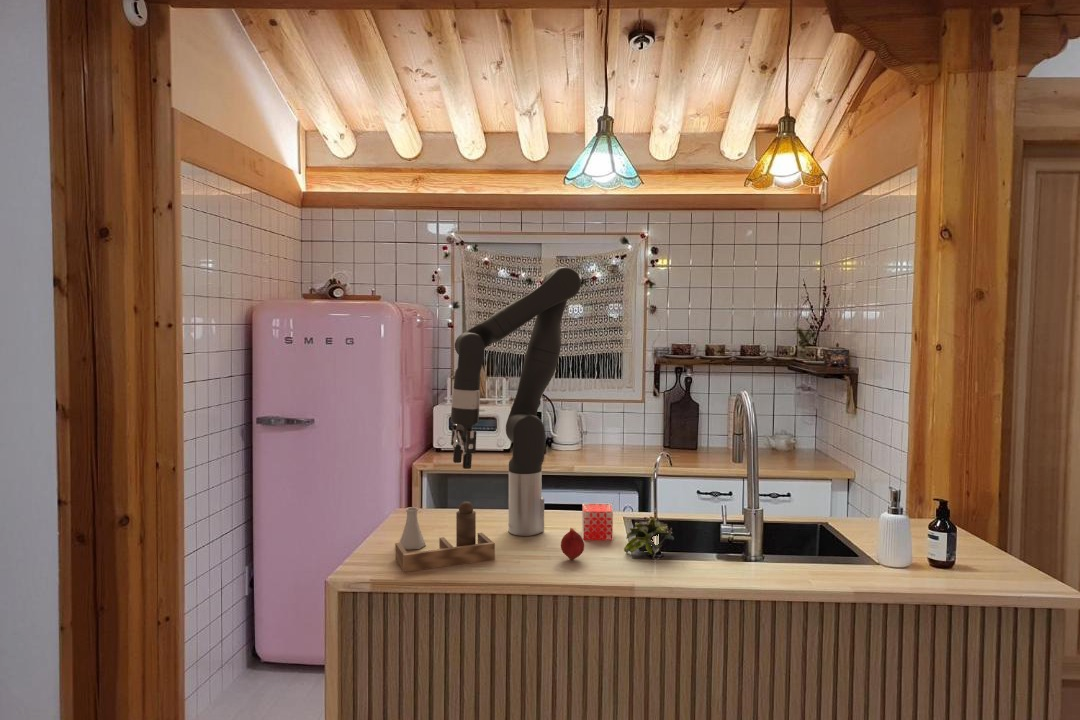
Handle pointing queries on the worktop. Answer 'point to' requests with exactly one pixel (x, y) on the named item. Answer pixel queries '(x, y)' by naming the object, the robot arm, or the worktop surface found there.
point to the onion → (572, 544)
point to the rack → (445, 554)
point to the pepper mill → (465, 525)
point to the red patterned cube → (597, 522)
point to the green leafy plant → (648, 535)
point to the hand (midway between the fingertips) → (461, 465)
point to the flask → (412, 531)
